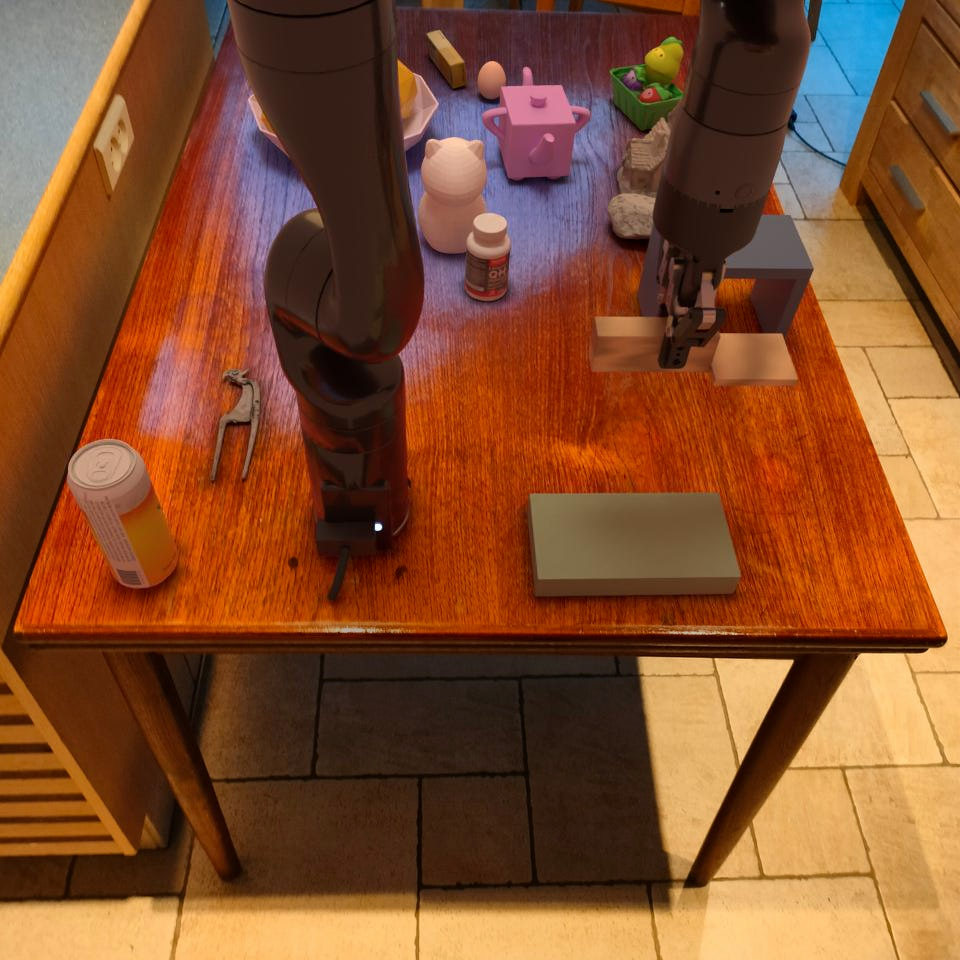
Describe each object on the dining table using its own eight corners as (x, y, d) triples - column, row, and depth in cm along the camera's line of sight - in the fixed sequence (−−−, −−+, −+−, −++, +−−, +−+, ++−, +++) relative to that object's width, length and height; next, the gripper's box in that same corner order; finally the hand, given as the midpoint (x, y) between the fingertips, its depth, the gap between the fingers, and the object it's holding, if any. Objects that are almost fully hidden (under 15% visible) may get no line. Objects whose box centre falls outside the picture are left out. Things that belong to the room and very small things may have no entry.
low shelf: (733, 594, 86) (741, 576, 83) (535, 596, 85) (538, 579, 82) (711, 510, 92) (718, 492, 90) (526, 511, 91) (529, 493, 89)
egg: (489, 87, 144) (491, 52, 140) (510, 97, 143) (513, 62, 138) (470, 97, 142) (472, 62, 138) (492, 108, 140) (494, 72, 136)
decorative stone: (630, 265, 117) (637, 233, 113) (593, 218, 123) (598, 186, 119) (711, 247, 120) (720, 215, 116) (671, 202, 126) (678, 170, 123)
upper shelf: (781, 349, 108) (814, 268, 99) (649, 349, 107) (670, 267, 98) (761, 295, 114) (790, 214, 105) (636, 294, 113) (655, 213, 104)
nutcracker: (246, 479, 91) (196, 477, 91) (247, 484, 92) (197, 482, 91) (268, 366, 101) (223, 364, 101) (269, 371, 102) (224, 369, 101)
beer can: (185, 539, 87) (147, 435, 75) (173, 592, 83) (132, 492, 72) (121, 539, 87) (73, 435, 75) (106, 593, 83) (54, 492, 71)
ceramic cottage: (719, 147, 136) (739, 49, 124) (727, 215, 126) (751, 115, 114) (615, 144, 137) (625, 47, 125) (615, 211, 127) (626, 112, 115)
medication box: (427, 56, 150) (424, 32, 147) (442, 52, 151) (440, 28, 148) (452, 89, 143) (449, 64, 140) (467, 85, 144) (466, 60, 140)
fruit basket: (602, 100, 143) (613, 28, 135) (650, 92, 146) (664, 20, 137) (637, 137, 137) (652, 63, 128) (687, 127, 139) (704, 54, 131)
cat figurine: (417, 264, 115) (416, 158, 104) (418, 206, 123) (417, 102, 111) (487, 265, 116) (494, 159, 104) (483, 208, 124) (489, 103, 112)
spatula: (593, 385, 74) (600, 350, 71) (586, 339, 78) (592, 303, 75) (795, 386, 75) (811, 351, 72) (779, 340, 79) (793, 304, 75)
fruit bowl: (263, 92, 140) (252, 18, 131) (437, 96, 142) (438, 23, 133) (240, 196, 123) (226, 118, 114) (439, 200, 124) (440, 123, 116)
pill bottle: (494, 308, 110) (498, 241, 103) (456, 293, 112) (458, 226, 104) (514, 284, 113) (521, 218, 106) (477, 270, 115) (481, 203, 107)
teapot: (601, 168, 131) (613, 96, 123) (543, 206, 125) (552, 132, 116) (521, 128, 137) (526, 57, 129) (462, 162, 130) (464, 90, 122)
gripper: (649, 114, 66) (612, 298, 80) (681, 229, 57) (634, 414, 71) (749, 116, 66) (696, 299, 80) (797, 231, 58) (728, 414, 71)
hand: (667, 352), depth 75 cm, fingers closed on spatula, 2 cm apart
